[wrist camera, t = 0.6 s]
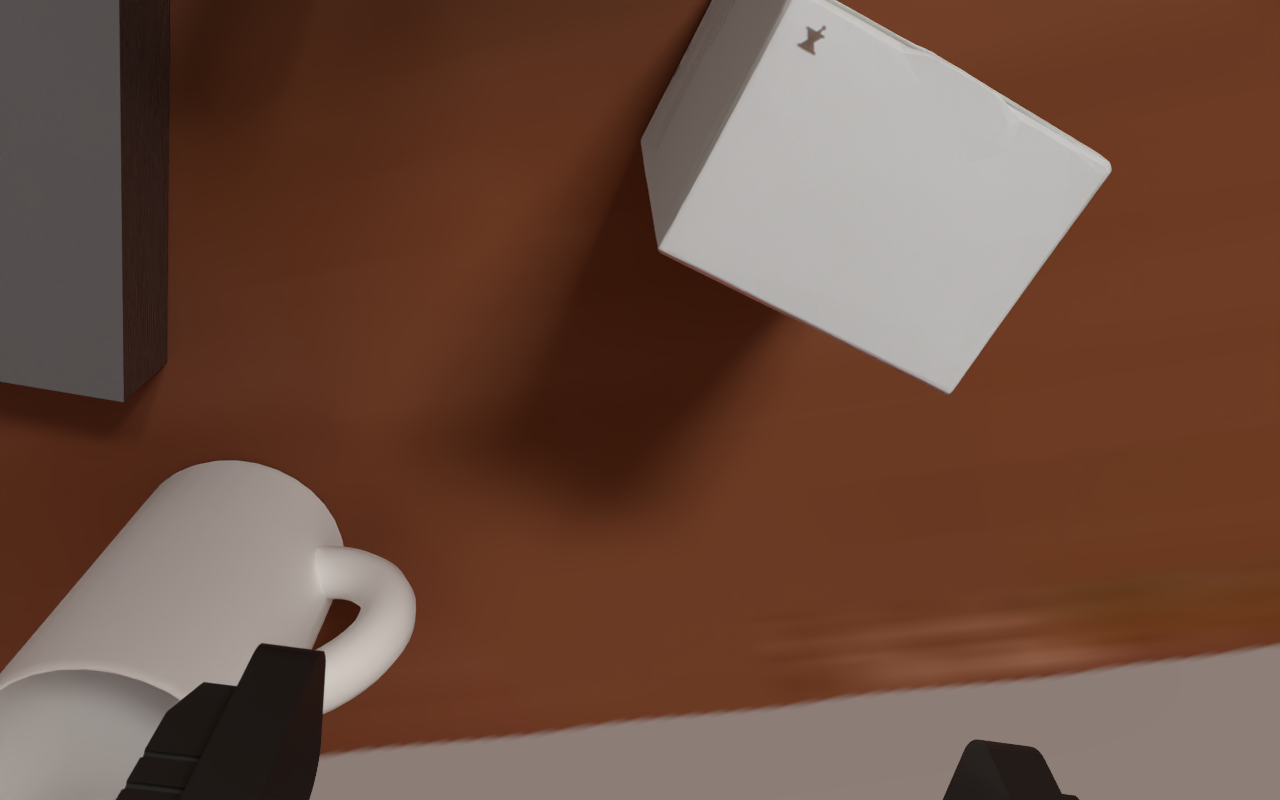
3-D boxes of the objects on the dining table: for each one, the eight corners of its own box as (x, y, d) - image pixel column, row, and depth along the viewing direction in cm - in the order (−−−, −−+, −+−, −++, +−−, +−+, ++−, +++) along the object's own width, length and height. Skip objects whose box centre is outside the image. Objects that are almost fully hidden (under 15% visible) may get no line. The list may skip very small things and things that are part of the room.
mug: (461, 612, 41) (405, 852, 30) (178, 641, 42) (23, 889, 31) (421, 436, 38) (342, 635, 27) (114, 469, 38) (-87, 679, 27)
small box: (636, 142, 34) (646, 251, 22) (729, -41, 31) (797, -31, 19) (840, 249, 35) (953, 403, 23) (942, 82, 33) (1125, 160, 21)
